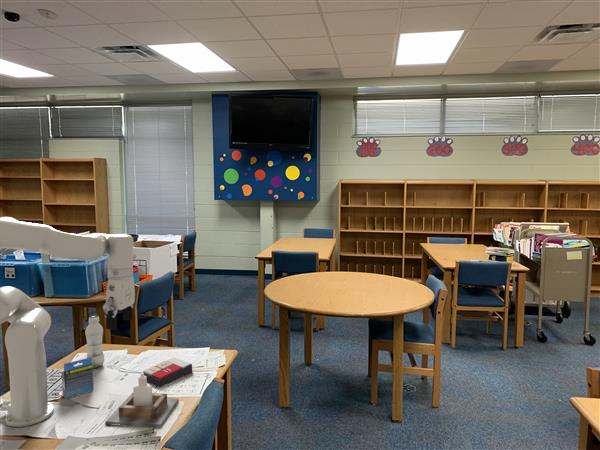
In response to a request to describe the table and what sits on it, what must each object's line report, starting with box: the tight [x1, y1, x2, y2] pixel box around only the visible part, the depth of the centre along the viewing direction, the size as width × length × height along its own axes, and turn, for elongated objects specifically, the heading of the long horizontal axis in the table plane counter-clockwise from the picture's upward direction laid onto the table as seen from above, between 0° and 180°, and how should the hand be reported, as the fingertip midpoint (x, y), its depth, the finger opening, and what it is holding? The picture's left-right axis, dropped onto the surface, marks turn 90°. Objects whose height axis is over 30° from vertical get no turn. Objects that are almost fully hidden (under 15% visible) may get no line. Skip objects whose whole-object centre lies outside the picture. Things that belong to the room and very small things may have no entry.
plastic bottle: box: [84, 315, 105, 369], centre depth 162 cm, size 6×7×20 cm
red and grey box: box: [141, 357, 193, 388], centre depth 156 cm, size 11×4×15 cm
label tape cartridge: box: [61, 357, 94, 400], centre depth 141 cm, size 9×4×12 cm, turn 132°
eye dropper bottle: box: [132, 372, 153, 406], centre depth 129 cm, size 4×6×12 cm
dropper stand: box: [104, 392, 179, 428], centre depth 130 cm, size 17×15×4 cm
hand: (119, 324), depth 134 cm, fingers open, 9 cm apart
